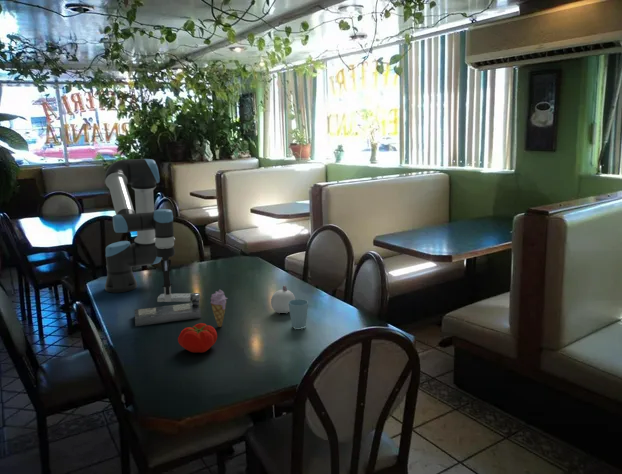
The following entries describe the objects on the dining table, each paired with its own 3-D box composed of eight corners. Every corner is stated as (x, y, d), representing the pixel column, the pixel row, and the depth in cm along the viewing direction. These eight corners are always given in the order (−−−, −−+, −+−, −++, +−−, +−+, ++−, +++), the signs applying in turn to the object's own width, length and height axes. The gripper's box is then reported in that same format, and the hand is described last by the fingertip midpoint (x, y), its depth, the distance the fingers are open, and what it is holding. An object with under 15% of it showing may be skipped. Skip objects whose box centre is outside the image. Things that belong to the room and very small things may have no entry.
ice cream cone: (231, 324, 202) (230, 289, 199) (224, 330, 196) (222, 293, 193) (217, 323, 204) (215, 287, 201) (209, 328, 198) (207, 292, 195)
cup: (302, 332, 194) (302, 306, 192) (285, 329, 197) (285, 303, 195) (311, 325, 200) (311, 300, 198) (294, 322, 204) (294, 298, 202)
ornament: (299, 310, 217) (298, 284, 215) (288, 318, 208) (287, 290, 206) (278, 307, 222) (277, 281, 219) (267, 315, 213) (266, 287, 210)
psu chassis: (135, 316, 213) (134, 304, 212) (198, 308, 222) (197, 297, 221) (135, 326, 202) (134, 313, 201) (202, 317, 210) (201, 305, 209)
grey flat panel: (161, 298, 219) (161, 292, 219) (201, 297, 219) (201, 292, 219) (157, 302, 214) (157, 296, 213) (198, 301, 214) (198, 296, 213)
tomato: (182, 361, 170) (181, 336, 168) (176, 347, 181) (175, 324, 180) (222, 353, 175) (221, 330, 174) (214, 340, 187) (213, 318, 185)
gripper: (174, 249, 203) (177, 305, 207) (174, 243, 215) (177, 296, 220) (155, 250, 201) (158, 306, 205) (156, 244, 213) (159, 297, 218)
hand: (168, 301), depth 212 cm, fingers closed
